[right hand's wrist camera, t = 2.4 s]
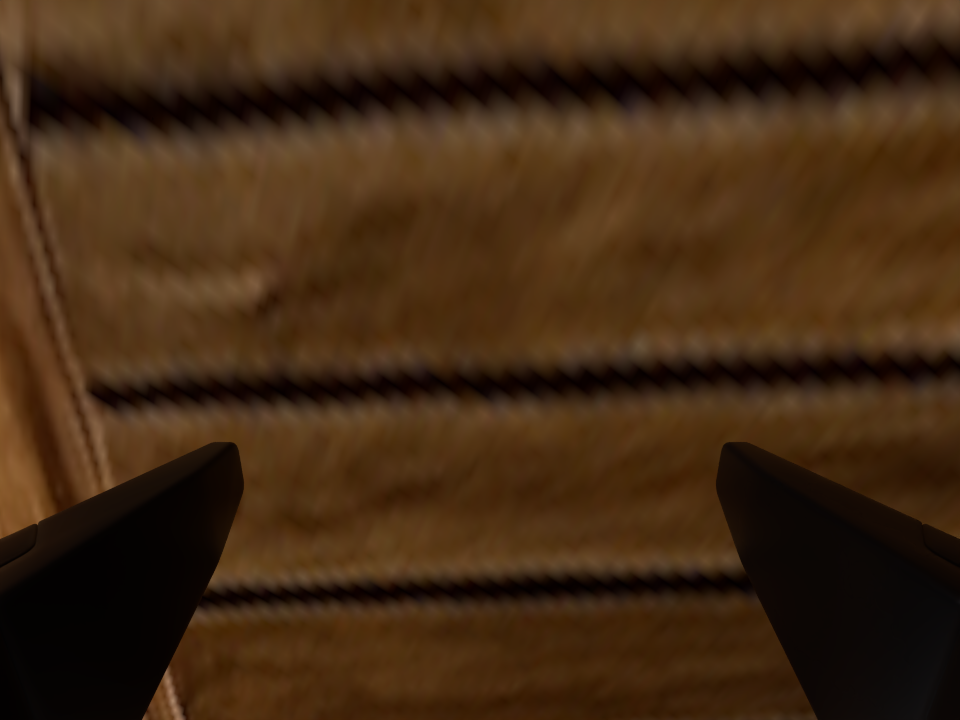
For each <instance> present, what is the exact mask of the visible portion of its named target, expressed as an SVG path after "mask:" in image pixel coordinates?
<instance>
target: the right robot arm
mask: <svg viewBox="0 0 960 720" xmlns="http://www.w3.org/2000/svg"><path fill="white" fill-rule="evenodd" d="M243 490H244V479H243V473H242V468H241V462H240V456H239V450H238V448H237V445H236V444H235V443H232V442H213V443H210V444H208V445H206V446H203V447H201V448H199V449H197V450H195V451H192V452H190V453H188V454H186V455H184V456H182V457H179V458H177V459H175V460H173V461H171V462H168V463H166V464H164V465H162V466H160V467H157V468H155V469H153V470H151V471H149V472H147V473H144V474H142V475H140V476H138V477H136V478H133V479H131V480H129V481H127V482H125V483H122V484H120V485H118V486H116V487H114V488H112V489H109V490H107V491H105V492H103V493H101V494H98V495H96V496H94V497H92V498H90V499H88V500H85V501H83V502H81V503H79V504H77V505H74V506H72V507H70V508H68V509H66V510H63V511H61V512H59V513H57V514H55V515H53V516H50V517H48V518H46V519H44V520H42V521H40V522H39V523H38V525H37V524H33V525H30V526H28V527H26V528H24V529H22V530H20V531H17V532H15V533H13V534H11V535H8V536H6V537H4V538H2V539H0V720H142V719H143V717H144V715H145V712H146V710H147V708H148V706H149V704H150V702H151V700H152V698H153V696H154V694H155V692H156V690H157V688H158V686H159V684H160V682H161V680H162V678H163V676H164V674H165V672H166V669H167V667H168V665H169V663H170V661H171V659H172V657H173V655H174V653H175V651H176V649H177V647H178V645H179V643H180V641H181V639H182V637H183V635H184V633H185V631H186V629H187V626H188V624H189V622H190V620H191V618H192V616H193V614H194V612H195V610H196V608H197V606H198V604H199V602H200V600H201V598H202V596H203V594H204V592H205V590H206V588H207V586H208V583H209V581H210V579H211V577H212V575H213V573H214V571H215V569H216V567H217V564H218V562H219V560H220V557H221V554H222V552H223V549H224V546H225V543H226V540H227V538H228V535H229V532H230V529H231V526H232V523H233V520H234V517H235V515H236V512H237V509H238V506H239V503H240V500H241V497H242V494H243ZM716 490H717V494H718V497H719V500H720V503H721V506H722V509H723V512H724V515H725V517H726V520H727V523H728V526H729V529H730V532H731V535H732V538H733V540H734V543H735V546H736V549H737V552H738V554H739V557H740V560H741V562H742V564H743V567H744V569H745V571H746V573H747V575H748V577H749V579H750V581H751V583H752V586H753V588H754V590H755V592H756V594H757V596H758V598H759V600H760V602H761V604H762V606H763V608H764V610H765V612H766V614H767V616H768V618H769V620H770V622H771V624H772V626H773V629H774V631H775V633H776V635H777V637H778V639H779V641H780V643H781V645H782V647H783V649H784V651H785V653H786V655H787V657H788V659H789V661H790V663H791V665H792V667H793V669H794V672H795V674H796V676H797V678H798V680H799V682H800V684H801V686H802V688H803V690H804V692H805V694H806V696H807V698H808V700H809V702H810V704H811V706H812V708H813V710H814V712H815V715H816V717H817V719H818V720H960V539H958V538H956V537H954V536H952V535H949V534H947V533H945V532H943V531H940V530H938V529H936V528H934V527H932V526H930V525H927V524H923V525H922V523H921V522H920V521H918V520H916V519H914V518H912V517H910V516H907V515H905V514H903V513H901V512H899V511H897V510H894V509H892V508H890V507H888V506H886V505H883V504H881V503H879V502H877V501H875V500H872V499H870V498H868V497H866V496H864V495H862V494H859V493H857V492H855V491H853V490H851V489H848V488H846V487H844V486H842V485H840V484H838V483H835V482H833V481H831V480H829V479H827V478H824V477H822V476H820V475H818V474H816V473H813V472H811V471H809V470H807V469H805V468H803V467H800V466H798V465H796V464H794V463H792V462H789V461H787V460H785V459H783V458H781V457H778V456H776V455H774V454H772V453H770V452H768V451H765V450H763V449H761V448H759V447H757V446H754V445H752V444H750V443H747V442H728V443H725V444H724V445H723V448H722V450H721V456H720V462H719V468H718V473H717V479H716Z"/></svg>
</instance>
